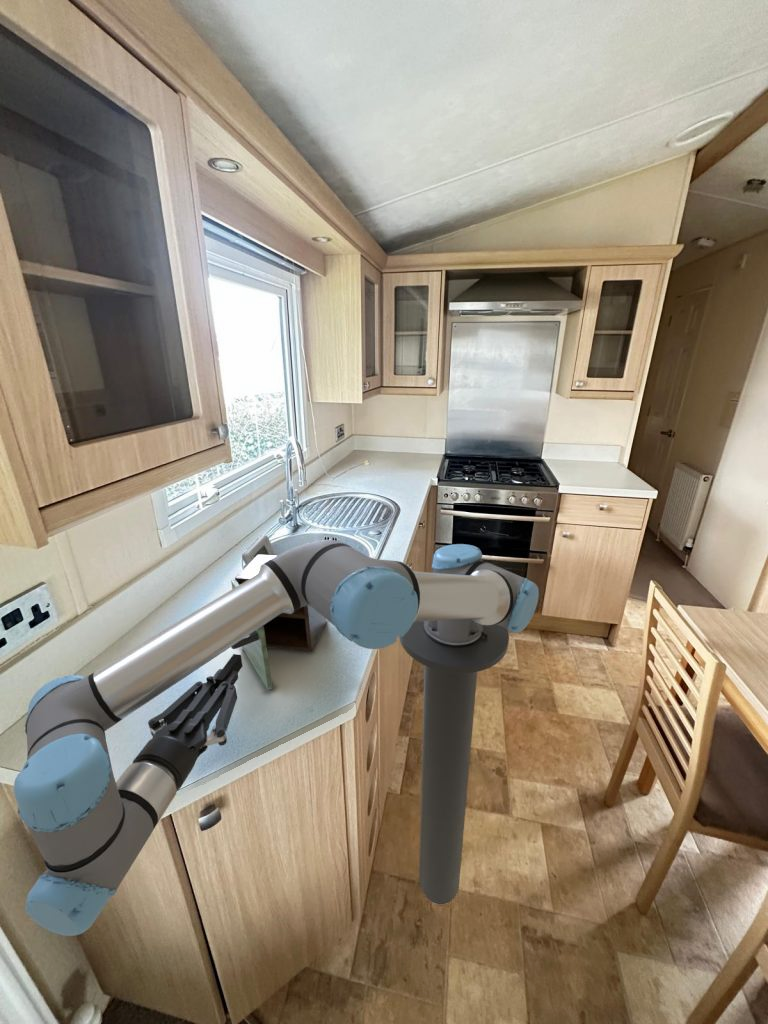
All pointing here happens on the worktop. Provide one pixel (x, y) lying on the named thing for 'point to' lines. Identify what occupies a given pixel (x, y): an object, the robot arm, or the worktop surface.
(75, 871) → the robot arm
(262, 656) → the door
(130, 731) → the worktop surface
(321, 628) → the cupboard
